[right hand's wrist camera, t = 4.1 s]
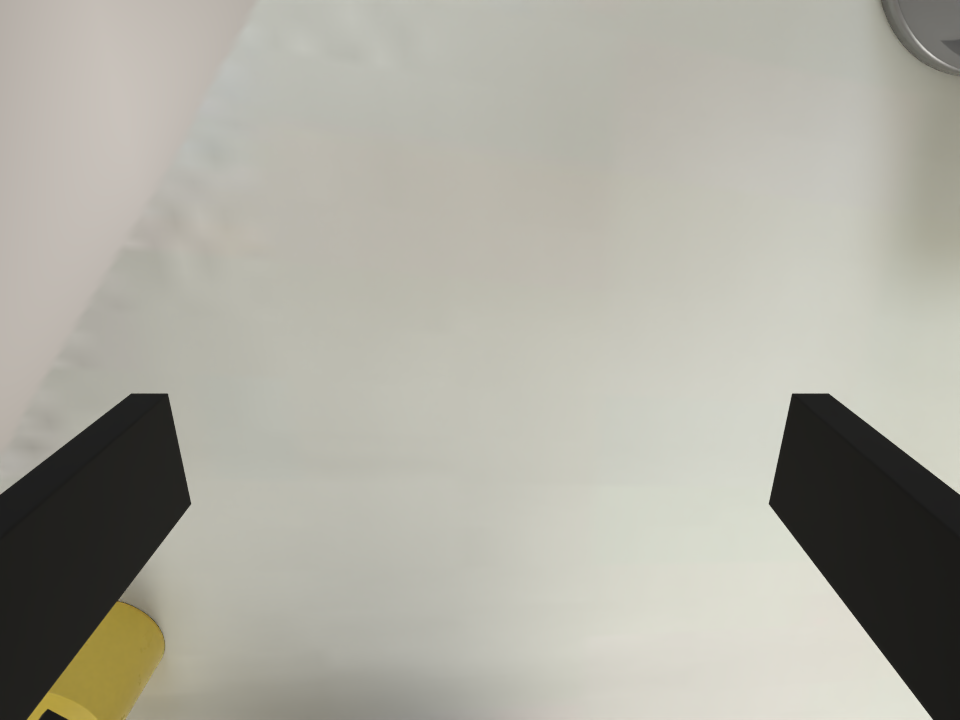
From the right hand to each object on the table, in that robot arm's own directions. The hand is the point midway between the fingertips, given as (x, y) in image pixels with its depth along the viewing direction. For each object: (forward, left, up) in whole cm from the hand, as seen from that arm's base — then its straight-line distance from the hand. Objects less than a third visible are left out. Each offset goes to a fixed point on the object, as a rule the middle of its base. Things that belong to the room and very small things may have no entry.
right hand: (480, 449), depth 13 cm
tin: (+46, +18, -29) cm, 57 cm away
